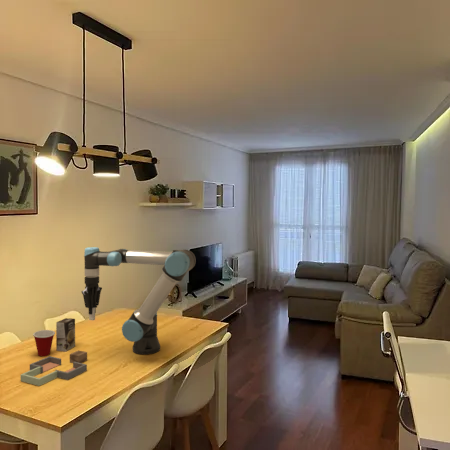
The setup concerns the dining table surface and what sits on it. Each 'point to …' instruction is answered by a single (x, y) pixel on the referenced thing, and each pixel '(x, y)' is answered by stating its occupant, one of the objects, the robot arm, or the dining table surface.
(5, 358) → the dining table surface
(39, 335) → the plastic cup
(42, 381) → the channel
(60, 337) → the coffee box
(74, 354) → the walnut block
